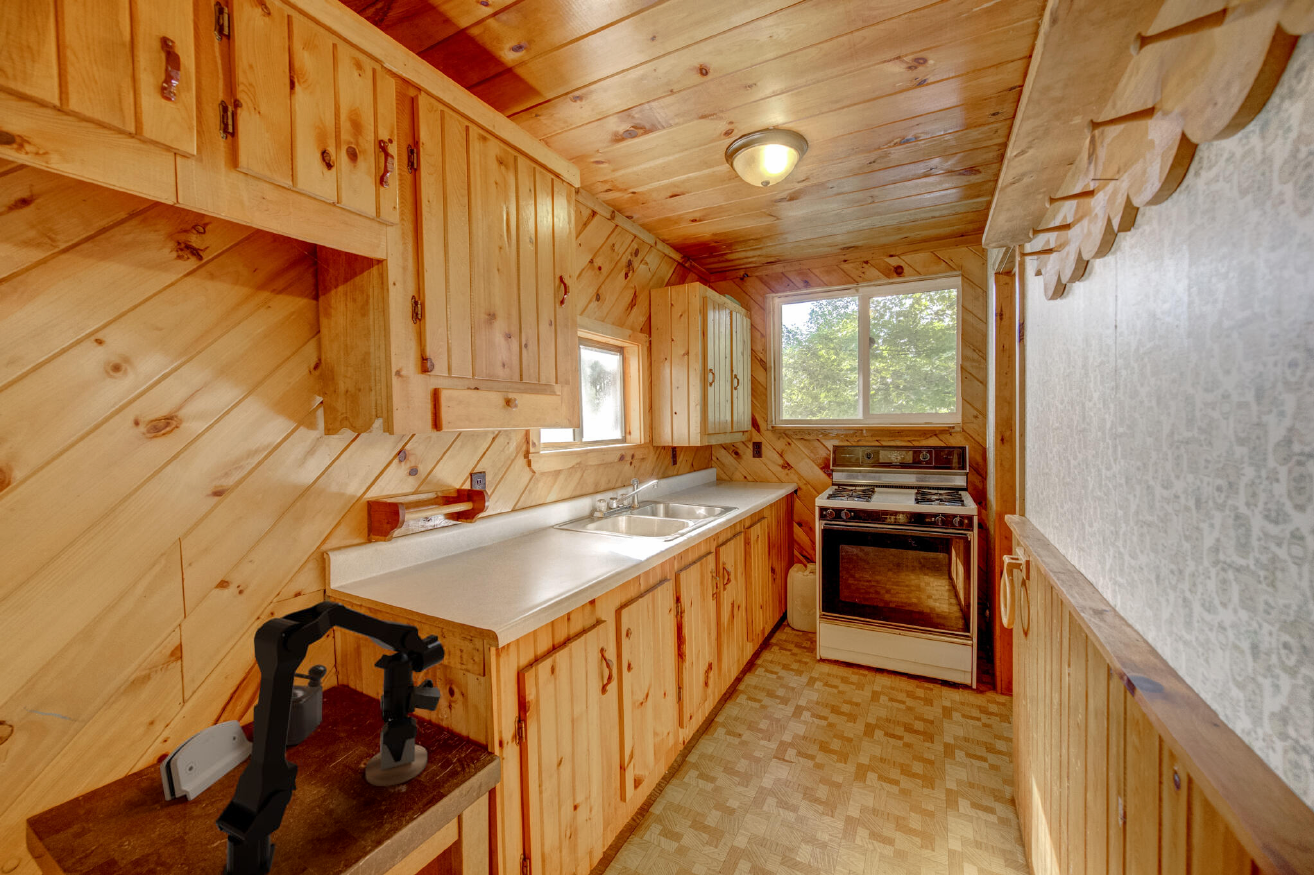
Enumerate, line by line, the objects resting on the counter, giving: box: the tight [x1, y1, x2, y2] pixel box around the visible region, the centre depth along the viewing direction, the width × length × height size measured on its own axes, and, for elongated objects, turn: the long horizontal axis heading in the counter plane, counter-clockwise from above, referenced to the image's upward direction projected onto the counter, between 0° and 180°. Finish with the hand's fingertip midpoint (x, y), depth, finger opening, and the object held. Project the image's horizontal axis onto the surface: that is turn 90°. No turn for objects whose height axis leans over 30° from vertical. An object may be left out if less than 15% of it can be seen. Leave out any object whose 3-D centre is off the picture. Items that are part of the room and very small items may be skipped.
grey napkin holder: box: [159, 719, 253, 801], centre depth 109 cm, size 17×5×10 cm, turn 179°
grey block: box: [379, 730, 416, 770], centre depth 112 cm, size 6×6×5 cm
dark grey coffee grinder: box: [252, 664, 328, 746], centre depth 124 cm, size 16×11×18 cm
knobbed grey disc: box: [365, 744, 428, 787], centre depth 112 cm, size 12×12×5 cm
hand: (397, 752), depth 112 cm, fingers closed on grey block, 6 cm apart
